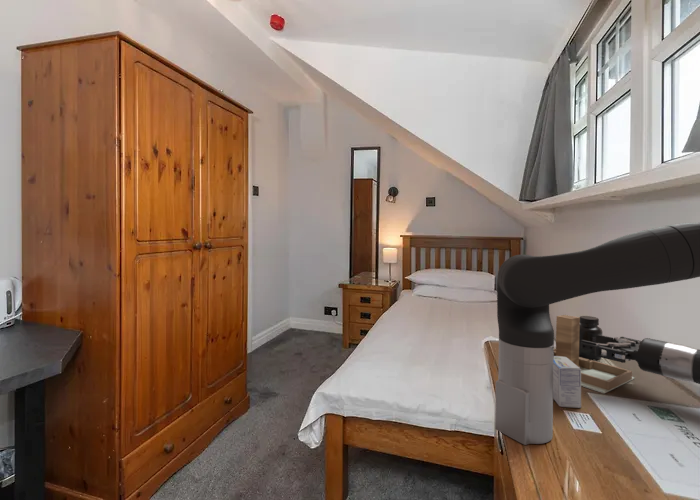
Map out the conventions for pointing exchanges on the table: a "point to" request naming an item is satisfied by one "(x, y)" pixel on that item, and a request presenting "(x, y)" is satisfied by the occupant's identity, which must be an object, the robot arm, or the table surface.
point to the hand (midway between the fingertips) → (588, 341)
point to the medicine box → (566, 382)
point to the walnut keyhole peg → (568, 337)
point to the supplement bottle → (589, 335)
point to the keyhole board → (602, 375)
